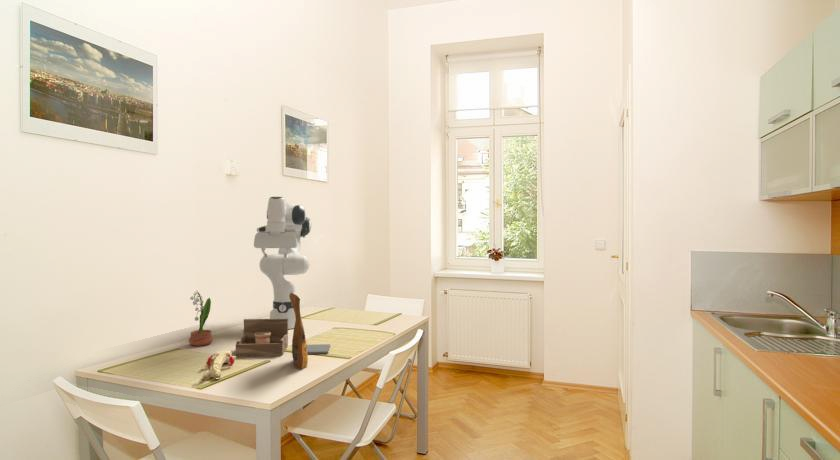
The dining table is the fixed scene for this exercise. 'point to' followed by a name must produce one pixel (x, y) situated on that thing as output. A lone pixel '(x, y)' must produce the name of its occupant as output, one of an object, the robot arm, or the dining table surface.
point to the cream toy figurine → (218, 363)
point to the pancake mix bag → (298, 336)
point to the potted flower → (201, 324)
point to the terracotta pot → (262, 337)
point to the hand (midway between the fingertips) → (275, 257)
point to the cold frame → (274, 348)
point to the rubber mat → (318, 348)
